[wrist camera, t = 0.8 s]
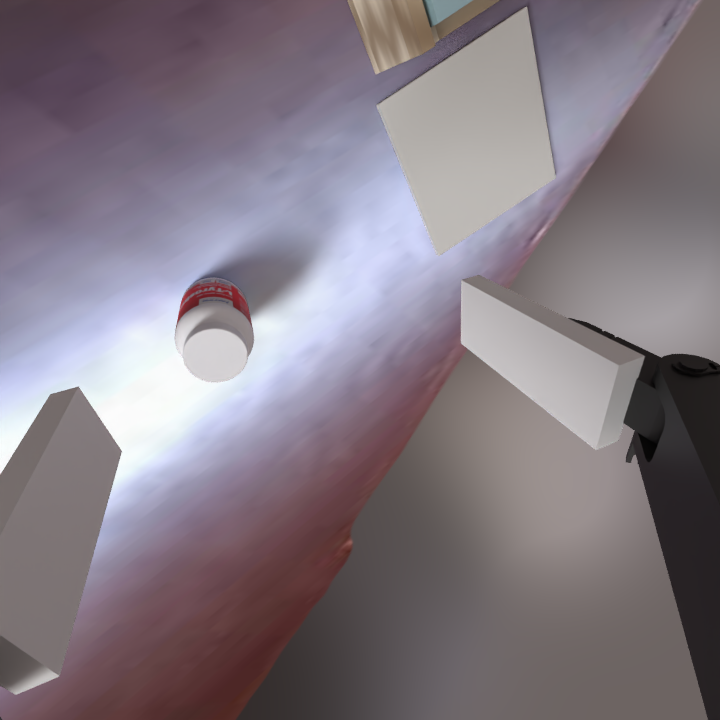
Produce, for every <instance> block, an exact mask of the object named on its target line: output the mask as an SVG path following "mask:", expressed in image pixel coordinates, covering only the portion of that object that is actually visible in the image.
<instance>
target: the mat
mask: <svg viewBox="0 0 720 720" xmlns="http://www.w3.org/2000/svg"><path fill="white" fill-rule="evenodd" d="M376 106H377V109H378V111H379V114H380V116H381V119H382V121H383V124H384V126H385V128H386V131H387V133H388V136H389V138H390V141H391V143H392V146H393V148H394V151H395V153H396V156H397V158H398V161H399V163H400V166H401V168H402V171H403V173H404V176H405V178H406V181H407V183H408V186H409V188H410V191H411V193H412V196H413V198H414V201H415V203H416V206H417V208H418V211H419V213H420V216H421V218H422V221H423V223H424V226H425V228H426V231H427V233H428V235H429V238H430V240H431V243H432V245H433V248H434V250H435V253H436V255H438V256H440V255H441V254H443V253H444V252H446V251H447V250H449V249H450V248H452V247H453V246H455V245H456V244H458V243H459V242H461V241H462V240H464V239H465V238H467V237H468V236H470V235H471V234H473V233H474V232H476V231H477V230H479V229H480V228H482V227H483V226H485V225H486V224H488V223H489V222H491V221H492V220H494V219H495V218H497V217H498V216H500V215H501V214H503V213H504V212H506V211H507V210H509V209H510V208H512V207H513V206H515V205H516V204H518V203H519V202H521V201H522V200H524V199H525V198H527V197H528V196H530V195H531V194H533V193H534V192H536V191H537V190H539V189H540V188H542V187H543V186H545V185H546V184H548V183H549V182H551V181H552V180H553V179H555V178H556V176H555V170H554V164H553V158H552V152H551V147H550V141H549V135H548V129H547V123H546V117H545V111H544V105H543V99H542V93H541V87H540V81H539V75H538V69H537V63H536V57H535V51H534V45H533V40H532V34H531V28H530V22H529V16H528V10H527V6H526V7H524V8H522V9H521V10H519V11H518V12H516V13H515V14H513V15H511V16H510V17H508V18H507V19H505V20H504V21H502V22H501V23H499V24H498V25H496V26H495V27H493V28H492V29H490V30H489V31H487V32H486V33H484V34H483V35H481V36H480V37H478V38H477V39H475V40H474V41H472V42H471V43H469V44H468V45H466V46H465V47H463V48H462V49H460V50H459V51H457V52H456V53H454V54H453V55H451V56H449V57H448V58H446V59H445V60H443V61H442V62H440V63H439V64H437V65H436V66H434V67H433V68H431V69H430V70H428V71H427V72H425V73H424V74H422V75H421V76H419V77H418V78H416V79H415V80H413V81H412V82H410V83H409V84H407V85H406V86H404V87H403V88H401V89H400V90H398V91H397V92H395V93H394V94H392V95H391V96H389V97H387V98H386V99H384V100H383V101H381V102H380V103H378V104H377V105H376Z"/></svg>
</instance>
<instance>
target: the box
mask: <svg viewBox="0 0 720 720" xmlns="http://www.w3.org/2000/svg"><path fill="white" fill-rule="evenodd" d="M347 1H348V4H349V6H350V9H351V11H352V14H353V17H354V19H355V22H356V24H357V27H358V30H359V32H360V35H361V37H362V40H363V43H364V45H365V48H366V50H367V53H368V55H369V58H370V61H371V63H372V66H373V68H374V71H375V74H378V73H380V72H382V71H384V70H387V69H389V68H391V67H394V66H396V65H398V64H401V63H403V62H405V61H408V60H410V59H412V58H414V57H417V56H419V55H421V54H424V53H425V52H427V51H428V50H430V49H431V48H433V47H434V46H436V45H435V43H436V42H437V41H439V40H440V39H442V38H443V37H445V36H446V35H448V34H449V33H451V32H452V31H454V30H456V29H457V28H459V27H460V26H462V25H463V24H465V23H466V22H468V21H469V20H471V19H472V18H474V17H475V16H477V15H478V14H480V13H481V12H483V11H484V10H486V9H487V8H489V7H490V6H492V5H493V4H495V3H496V2H498V1H499V0H473V1H471V2H470V3H468V4H467V5H465V6H464V7H462V8H461V9H459V10H458V11H456V12H455V13H453V14H452V15H450V16H449V17H447V18H446V19H444V20H443V21H441V22H439V23H438V24H436V25H434V26H432V27H430V25H429V22H428V18H427V15H426V11H425V8H424V5H423V1H422V0H347Z"/></svg>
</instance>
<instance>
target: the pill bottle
mask: <svg viewBox="0 0 720 720" xmlns="http://www.w3.org/2000/svg"><path fill="white" fill-rule="evenodd" d="M253 343H254V333H253V328H252V323H251V318H250V314H249V309H248V304H247V301H246V298H245V296H244V294H243V293H242V291H241V290H240V289H239V288H238V287H237V286H236V285H235V284H233V283H231V282H230V281H227V280H225V279H221V278H205V279H201V280H199V281H197V282H195V283H193V284H192V285H191V286H190V287H189V288H188V289H187V290H186V292H185V293H184V295H183V298H182V301H181V306H180V310H179V315H178V321H177V325H176V330H175V344H176V347H177V350H178V352H179V354H180V355H181V357H182V358H183V361H184V364H185V366H186V368H187V369H188V370H189V372H190V373H191V374H193V375H194V376H195V377H197V378H199V379H201V380H204V381H208V382H223V381H227V380H230V379H232V378H234V377H235V376H237V375H238V374H239V373H240V372H241V371H242V370H243V369H244V367H245V365H246V363H247V359H248V356H249V354H250V353H251V350H252V348H253Z"/></svg>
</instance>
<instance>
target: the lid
mask: <svg viewBox="0 0 720 720" xmlns="http://www.w3.org/2000/svg"><path fill="white" fill-rule="evenodd" d="M422 1H423V5H424V8H425V11H426V15H427V18H428V22H429V25H430V27H432V26H434V25H436V24H438V23H439V22H441V21H443V20H444V19H446V18H447V17H449V16H450V15H452V14H453V13H455V12H456V11H458V10H459V9H461V8H462V7H464V6H465V5H467V4H468V3H470V2H471V1H473V0H422Z"/></svg>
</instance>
